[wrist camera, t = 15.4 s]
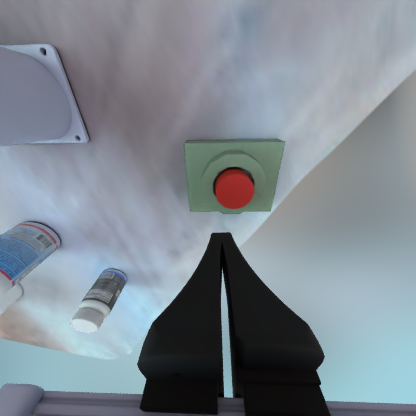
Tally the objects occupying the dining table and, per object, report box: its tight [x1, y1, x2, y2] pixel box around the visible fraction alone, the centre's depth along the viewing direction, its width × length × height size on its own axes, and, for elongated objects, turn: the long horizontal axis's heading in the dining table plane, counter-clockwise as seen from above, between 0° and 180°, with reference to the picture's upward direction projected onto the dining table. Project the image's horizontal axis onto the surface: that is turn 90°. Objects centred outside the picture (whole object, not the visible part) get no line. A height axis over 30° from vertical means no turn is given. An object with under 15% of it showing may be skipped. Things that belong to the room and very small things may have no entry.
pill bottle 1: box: [0, 222, 60, 296], centre depth 21 cm, size 6×6×11 cm
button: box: [216, 169, 254, 209], centre depth 16 cm, size 4×4×2 cm
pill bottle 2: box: [70, 269, 127, 333], centre depth 27 cm, size 5×5×8 cm
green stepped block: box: [184, 139, 285, 214], centre depth 18 cm, size 10×8×4 cm
